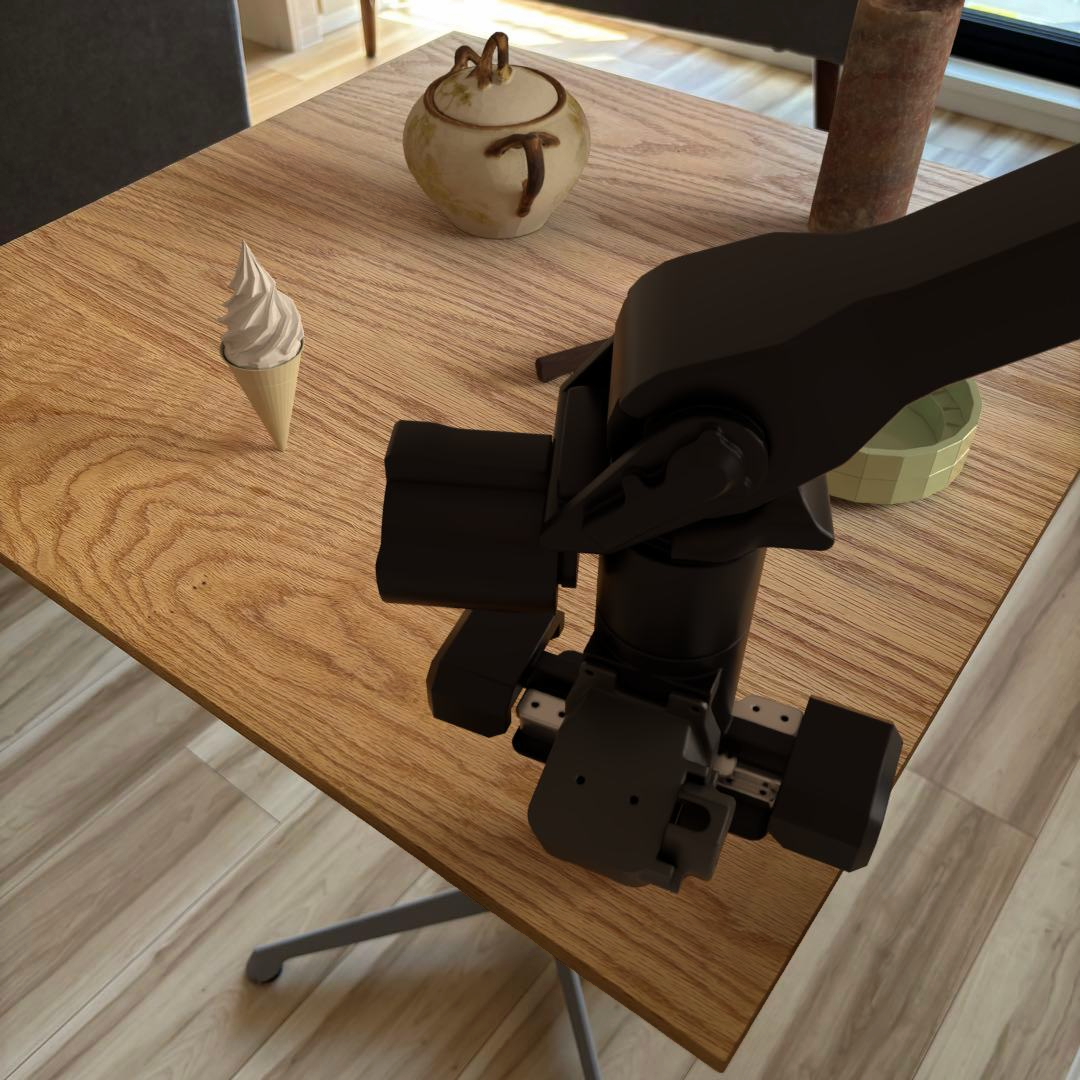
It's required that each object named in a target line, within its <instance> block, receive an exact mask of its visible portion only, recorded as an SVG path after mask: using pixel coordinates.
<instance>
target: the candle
mask: <svg viewBox="0 0 1080 1080" xmlns="http://www.w3.org/2000/svg"><path fill="white" fill-rule="evenodd" d="M965 3H966V0H857V4H856V9H855V13H854V17H853V22H852V25H851V30H850V33H849V38H848V43H847V48H846V51H845V57H844V61H843V66H842V71H841V75H840V78H839V84H838V88H837V93H836V97H835V101H834V107H833V110H832V116H831V120H830V124H829V128H828V133H827V138H826V142H825V146H824V150H823V155H822V159H821V163H820V167H819V172H818V177H817V180H816V183H815V184H816V185H815V189H814V192H813V197H812V202H811V205H810V211H809V215H808V220H807V224H806V226H807V229H808V232H811V233H848V232H853V231H857V230H861V229H864V228H868V227H872V226H876V225H880V224H884V223H888V222H891V221H894V220H896V219H898V218H901V217H903V216H906V215H907V213H908V209H909V205H910V203H911V198H912V195H913V192H914V191H913V190H914V187H915V184H916V179H917V175H918V172H919V167H920V164H921V160H922V157H923V153H924V149H925V145H926V141H927V138H928V135H929V131H930V128H931V123H932V120H933V116H934V113H935V109H936V105H937V102H938V97H939V94H940V90H941V89H942V84H943V82H944V81H943V80H944V77H945V73H946V69H947V67H948V63H949V60H950V57H951V53H952V49H953V45H954V41H955V38H956V36H957V32H958V28H959V25H960V22H961V18H962V13H963V10H964V6H965Z"/></svg>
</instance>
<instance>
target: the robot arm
mask: <svg viewBox="0 0 1080 1080" xmlns="http://www.w3.org/2000/svg"><path fill="white" fill-rule="evenodd" d="M614 325H615V326H614V332H613V333H612V334H611V336H609V337H608V338H609V339H607V340H606V341H605V342H604V343H603V344H602V345H601V346H600V347H599V348H598V349H597V350H596V351H595V352H594V353H593V354H592V355H591V356H590V357H589V358H588V359H587V360H586V361H585V362H584V363H583V364H582V365H581V366H580V367H579V368H578V369H577V370H576V371H575V372H572V374H571V375H570V376H568V377H567V379H565V380H564V381H563V383H561V384H560V386H559V389H558V397H557V404H556V411H555V418H554V425H553V434H551V433H550V434H548V433H534V432H533V433H531V432H519V431H505V430H491V429H489V430H487V429H473V428H460V427H455V426H454V427H453V426H450V425H446V424H442V423H438V422H433V421H425V420H413V419H411V420H409V419H399V420H397V421H396V422H395V423H394V424H393V427H392V430H391V434H390V438H389V441H388V444H387V448H386V451H385V454H384V457H383V465H384V473H385V482H386V483H385V487H384V488H385V489H384V496H383V504H382V511H381V512H382V515H381V526H380V544H379V547H378V552H377V555H376V558H375V566H374V567H375V568H374V572H375V580H376V588H377V591H378V595H379V598H380V599H381V602H383V603H385V604H393V605H394V604H395V605H405V606H406V605H407V606H421V607H433V608H446V609H460V610H463V612H462V613H461V615H460V616H459V618H458V619H457V621H456V622H455V624H454V626H453V627H452V629H451V630H450V632H449V633H448V635H447V636H446V638H445V640H444V641H443V643H442V645H441V646H440V647H439V648H438V650H437V652H436V653H435V655H434V656H433V657H432V660H431V661H430V664H429V668H428V671H427V675H426V678H425V686H426V696H427V705H428V707H429V709H430V713H431V714H432V717H433V718H434V719H436V720H439V721H441V722H445V723H447V724H450V725H452V726H455V727H458V728H461V729H464V730H466V731H469V732H471V733H473V734H476V735H479V736H482V737H485V738H487V739H491V738H494V737H498V736H502V735H506V733H507V732H508V730H509V728H510V726H511V725H512V709H513V708H514V705H515V704H516V702H517V700H518V698H519V696H520V695H521V693H522V691H523V689H525V690H524V692H523V694H522V695H521V698H520V699H519V701H518V703H517V704H516V706H515V711H514V712H515V716H516V718H517V719H519V725H518V727H517V728H516V731H515V733H514V734H513V736H512V739H511V745H512V748H513V750H514V751H515V752H516V753H517V754H518V755H520V756H523V757H524V758H527V759H530V760H533V761H536V762H538V763H541V764H543V765H544V766H543V769H542V771H541V774H540V776H539V778H538V781H537V783H536V786H535V788H534V791H533V793H532V795H531V799H530V801H529V803H528V806H527V811H526V818H527V823H528V826H529V828H530V829H531V831H532V833H533V835H534V836H535V838H536V840H537V841H538V842H539V845H540V846H541V847H542V849H543V850H544V851H545V852H546V853H547V854H548V855H549V856H551V857H553V858H555V859H557V860H560V861H563V862H566V863H569V864H572V865H574V866H577V867H579V868H581V869H584V870H587V871H590V872H591V873H595V874H597V875H599V876H602V877H604V878H607V879H610V880H611V881H613V882H615V883H618V884H620V885H622V886H625V887H628V888H633V889H634V888H635V889H636V888H637V889H638V888H644V887H646V886H649V885H652V886H655V887H657V888H660V889H662V890H665V891H668V892H670V893H673V894H674V895H679V893H680V891H681V888H682V886H683V882H684V881H685V879H687V878H689V877H692V878H696V879H698V880H700V881H704V882H706V883H707V882H710V881H712V879H713V876H714V874H715V871H716V869H717V865H718V862H719V861H720V856H721V855H722V854H721V853H722V851H723V848H724V845H725V842H726V839H727V837H728V836H727V835H728V834H730V835H733V836H736V837H738V838H741V839H744V840H746V841H750V842H757V841H761V840H763V839H764V838H765V837H766V836H767V835H768V834H769V835H770V836H771V837H772V838H773V839H774V840H775V841H776V842H777V843H778V844H779V846H780V847H782V849H783V850H784V849H785V850H787V851H789V852H792V853H796V854H798V855H800V856H803V857H805V858H808V859H811V860H814V861H817V862H819V863H821V864H825V865H827V866H829V867H833V868H836V869H838V870H841V871H843V872H846V873H848V874H850V873H853V872H855V871H858V870H860V869H863V868H866V867H868V865H869V863H870V862H871V861H870V860H871V858H872V855H873V853H874V851H875V848H876V846H877V843H878V841H879V838H880V835H881V831H882V829H883V825H884V821H885V817H886V814H887V809H888V806H889V801H890V797H891V794H892V790H893V785H894V782H895V778H896V773H897V770H898V766H899V762H900V758H901V753H902V751H903V746H904V739H903V737H902V736H901V734H900V732H899V730H898V728H897V726H896V724H895V722H894V720H891V719H887V718H884V717H881V716H879V715H876V714H872V713H869V712H867V711H863V710H861V709H857V708H854V707H851V706H848V705H846V704H843V703H839V702H836V701H833V700H831V699H827V698H824V697H821V696H819V695H815V694H812V693H811V694H810V695H809V697H808V701H807V703H806V706H805V710H804V711H803V710H801V709H800V708H797V707H795V706H791V705H788V704H785V703H782V702H780V701H776V700H773V699H770V698H767V697H764V696H761V695H756V694H750V695H746V696H745V697H743V698H742V699H740V700H738V701H736V696H737V692H738V687H739V681H740V678H741V672H742V668H743V663H744V659H745V654H746V650H747V644H748V640H749V636H750V629H751V625H752V623H753V622H752V621H753V618H754V617H753V616H754V612H755V607H756V603H757V598H758V593H759V590H760V589H759V588H760V586H761V585H760V584H761V580H762V576H763V570H764V565H765V561H766V557H767V551H768V548H771V549H783V550H784V549H786V550H797V551H798V550H799V551H802V550H803V551H813V552H825V551H828V550H830V549H832V548H833V547H834V545H835V542H836V536H835V528H834V521H833V513H832V505H831V498H830V497H831V495H829V488H828V480H827V473H829V472H831V471H833V470H835V469H837V468H839V467H841V466H843V465H844V464H846V463H847V462H848V461H849V460H850V459H851V458H852V457H853V456H854V455H855V454H856V453H857V452H859V451H860V450H861V449H862V448H863V447H864V446H865V445H866V444H867V443H868V442H869V441H870V440H871V439H872V438H873V437H874V436H875V435H876V434H877V433H878V432H879V431H880V430H881V429H882V428H884V427H885V426H886V425H887V424H888V423H889V422H890V421H891V420H892V419H893V418H894V417H895V416H896V415H897V414H898V413H899V412H900V411H901V410H903V409H904V408H905V407H907V406H908V405H910V404H912V403H914V402H916V401H918V400H920V399H922V398H924V397H926V396H928V395H930V394H932V393H934V392H936V391H938V390H940V389H942V388H944V387H947V386H949V385H952V384H955V383H958V382H961V381H964V380H966V379H969V378H975V377H977V376H980V375H983V374H986V373H989V372H992V371H994V370H997V369H1000V368H1004V367H1006V366H1009V365H1012V364H1015V363H1018V362H1021V361H1024V360H1027V359H1030V358H1032V357H1034V356H1038V355H1041V354H1044V353H1047V352H1049V351H1052V350H1055V349H1058V348H1060V347H1064V346H1067V345H1069V344H1073V343H1076V342H1078V341H1080V142H1078V143H1076V144H1073V145H1071V146H1069V147H1066V148H1064V149H1061V150H1059V151H1057V152H1055V153H1052V154H1050V155H1047V156H1045V157H1043V158H1039V159H1038V160H1035V161H1033V162H1031V163H1028V164H1026V165H1024V166H1021V167H1019V168H1015V169H1014V170H1011V171H1009V172H1007V173H1004V174H1002V175H999V176H997V177H995V178H992V179H990V180H988V181H985V182H983V183H980V184H978V185H975V186H973V187H971V188H968V189H966V190H963V191H961V192H959V193H956V194H953V195H951V196H949V197H946V198H944V199H942V200H939V201H936V202H934V203H932V204H930V205H927V206H925V207H922V208H920V209H918V210H915V211H913V212H911V213H908V214H906V216H903V217H901V218H898V219H896V220H894V221H891V222H888V223H884V224H880V225H876V226H872V227H868V228H864V229H861V230H857V231H853V232H848V233H811V232H810V231H808V232H807V231H804V232H803V231H801V232H800V231H770V232H766V233H762V234H759V235H754V236H751V237H747V238H743V239H740V240H739V239H738V240H735V241H732V242H728V243H724V244H720V245H716V246H713V247H709V248H708V247H707V248H704V249H701V250H698V251H693V252H689V253H686V254H682V255H678V256H676V257H672V258H670V259H667V260H664V261H663V262H661V263H660V264H658V265H656V266H655V267H653V268H652V269H650V270H648V271H647V272H646V273H644V274H642V275H641V276H640V277H639V278H638V279H636V281H635V282H634V283H633V284H632V285H631V286H630V287H629V288H628V290H627V292H626V298H625V299H624V300H623V303H622V305H621V307H620V311H619V313H618V316H617V318H616V321H615V324H614ZM581 554H587V555H598V561H597V563H598V564H597V576H596V577H597V578H596V594H595V596H596V597H595V606H594V607H595V608H594V609H595V610H594V621H593V622H594V623H593V624H594V625H593V627H594V628H593V632H592V634H591V636H590V637H589V639H588V641H587V643H586V645H585V647H584V649H583V650H582V652H580V651H577V650H575V649H567V650H564V651H561V652H560V653H559V654H555V653H554V652H550V651H547V650H546V648H547V647H548V645H549V643H550V641H552V640H555V639H558V638H560V636H561V635H562V633H563V631H564V629H565V621H566V620H565V617H566V614H565V611H562V610H559V609H558V605H559V591H560V590H559V588H563V589H564V588H565V589H577V586H578V577H579V568H580V557H581ZM559 585H560V586H561V587H559Z"/></svg>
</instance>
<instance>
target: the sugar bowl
mask: <svg viewBox="0 0 1080 1080" xmlns="http://www.w3.org/2000/svg"><path fill="white" fill-rule="evenodd" d="M509 39H510V38H509V35H508V34H506V33H505V32H504V31H495V32H493V33H492V34H491V35H490V36H489V38H488V39H487V40H486V42H485V44H484V47H483V50H482V53H481V55H479V54H478V53H477V52H476V51H475V50H474V49H472V47H470V46H469V45H467V44H465V45H464V44H463V45H460V46H459V47H457V49H455V52H454V56H453V57H454V59H453V61H454V64H453V66H452V67H451V68H450V70H449V71H448V72H447V73H445V74H443V75H441V76H439V77H437V78H436V79H435V80H433V81H432V82H431V83H430V84H429V85H428V86H427V87H426V89H425V91H424V93H423V94H421V96H420V97H419V98H418V99H417V101H415V102H414V104H413V105H412V107H411V109H410V111H409V113H408V115H407V117H406V119H405V122H404V127H403V131H402V149H403V156H404V159H405V162H406V165H407V169H408V170H409V172H410V174H411V175H412V177H413V179H414V180H415V182H416V183H417V186H419V188H421V189H422V191H423V192H424V193H425V194H426V196H427V197H428V198H429V199H430V200H431V201H432V202H433V203H434V205H436V206H437V208H438V209H440V210H441V212H443V213H444V214H445V216H446V217H447V218H448V219H449V220H450V222H451V223H452V224H453V225H454V226H456V228H458V229H459V230H461V231H462V232H465V233H467V234H468V235H472V236H476V237H479V238H486V239H494V240H499V239H513V238H519V237H523V236H527V235H529V234H532V233H534V232H536V231H538V230H540V229H541V228H542V227H543V226H544V225H545V224H546V222H547V221H548V219H549V218H550V216H551V215H552V214H553V212H554V211H556V209H557V208H558V207H559V206H560V205H561V204H562V203H563V201H564V200H565V199H566V198H567V197H568V195H569V194H570V193H571V191H573V189H574V187H575V186H576V185H577V183H578V182H579V180H580V178H581V177H582V175H583V172H584V170H585V168H586V166H587V164H588V162H589V161H588V160H589V156H590V153H591V147H592V142H591V141H592V139H591V130H590V126H589V121H588V118H587V116H586V114H585V112H584V109H583V108H582V106H581V104H580V103H579V102H578V100H577V99H576V98H575V97H574V96H573V95H572V94H571V92H569V91H568V90H567V89H566V88H565V87H564V86H563V84H562V83H561V82H560V81H559V80H558V79H556V78H555V77H553V76H552V75H550V74H548V73H547V72H544V71H542V70H539V69H536V68H533V67H529V66H525V65H519V64H510V57H509V56H510V53H509V52H510V50H509V47H510V46H509ZM495 51H496V53H497V54H496V56H497V63H496V64H495V63H493V58H494V53H495ZM469 62H471V63H472V64H473V66H469Z"/></svg>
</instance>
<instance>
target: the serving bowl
mask: <svg viewBox="0 0 1080 1080" xmlns="http://www.w3.org/2000/svg"><path fill="white" fill-rule="evenodd" d="M983 408H984V402H983V399H982V396H981V392H980V389H979V385H978V383H977V382H976V380H975V379H974V377H972V378H969V379H966V380H964V381H961V382H958V383H955V384H952V385H949V386H947V387H944V388H942V389H940V390H938V391H936V392H934V393H932V394H930V395H928V396H926V397H924V398H922V399H920V400H918V401H916V402H914V403H912V404H910V405H908V406H907V407H905V408H904V409H903V410H901V411H900V412H899V413H898V414H897V415H896V416H895V417H894V418H893V419H892V420H891V421H890V422H889V423H888V424H887V425H886V426H885V427H884V428H882V429H881V430H880V431H879V432H878V433H877V434H876V435H875V436H874V437H873V438H872V439H871V440H870V441H869V442H868V443H867V444H866V445H865V446H864V447H863V448H862V449H861V450H860V451H859V452H857V453H856V454H855V455H854V456H853V457H852V458H851V459H850V460H849V461H848V462H847V463H846V464H844V465H843V466H841V467H839V468H837V469H835V470H833V471H831V472H829V473H827V480H828V488H829V496H830V497H831V496H832V497H835V498H838V499H842V500H846V501H850V502H854V503H862V504H875V505H888V506H889V505H896V504H901V503H908V502H916V501H921V500H923V499H925V498H928V497H930V496H932V495H933V494H936V493H938V492H940V491H942V490H945V489H946V488H947V487H948V486H949V485H950V484H951V483H952V482H953V481H954V480H955V479H956V478H957V477H958V476H959V475H960V474H961V472H962V471H963V468H964V466H965V463H966V460H967V457H968V455H969V452H970V450H971V446H972V443H973V440H974V438H975V435H976V432H977V430H978V427H979V425H980V420H981V416H982V412H983Z"/></svg>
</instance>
